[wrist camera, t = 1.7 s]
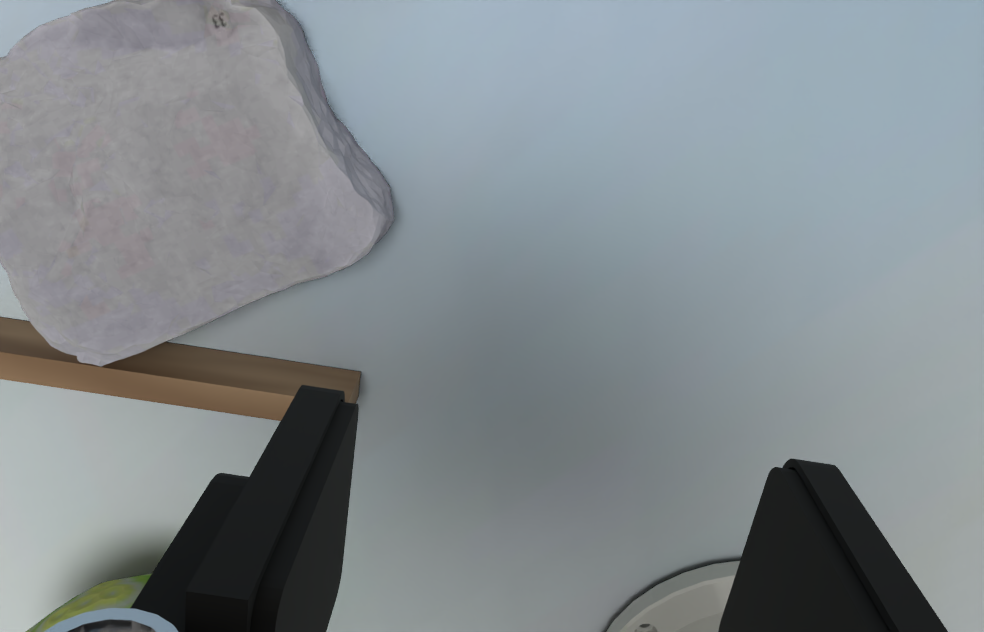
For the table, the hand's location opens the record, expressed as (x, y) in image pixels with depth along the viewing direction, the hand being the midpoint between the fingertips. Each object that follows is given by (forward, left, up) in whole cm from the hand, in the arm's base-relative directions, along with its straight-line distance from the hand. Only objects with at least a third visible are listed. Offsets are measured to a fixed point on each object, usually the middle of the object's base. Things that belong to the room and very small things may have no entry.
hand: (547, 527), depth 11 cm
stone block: (0, +12, -18) cm, 21 cm away
